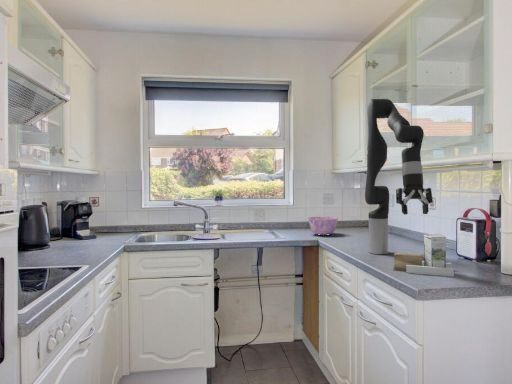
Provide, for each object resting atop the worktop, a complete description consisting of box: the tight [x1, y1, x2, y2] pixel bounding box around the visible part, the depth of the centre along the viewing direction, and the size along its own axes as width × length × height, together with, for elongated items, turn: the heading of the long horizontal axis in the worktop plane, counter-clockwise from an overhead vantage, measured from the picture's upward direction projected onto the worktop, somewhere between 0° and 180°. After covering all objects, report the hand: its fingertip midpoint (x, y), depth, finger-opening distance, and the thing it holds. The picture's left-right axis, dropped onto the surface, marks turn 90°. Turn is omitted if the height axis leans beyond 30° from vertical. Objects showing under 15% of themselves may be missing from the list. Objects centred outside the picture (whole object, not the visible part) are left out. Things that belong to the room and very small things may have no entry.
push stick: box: [393, 252, 423, 270], centre depth 143 cm, size 3×10×6 cm, turn 66°
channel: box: [392, 260, 455, 278], centre depth 141 cm, size 11×21×3 cm, turn 66°
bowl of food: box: [307, 216, 339, 235], centre depth 245 cm, size 20×20×12 cm
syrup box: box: [423, 233, 447, 268], centre depth 139 cm, size 6×6×14 cm
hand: (415, 214), depth 144 cm, fingers open, 8 cm apart
